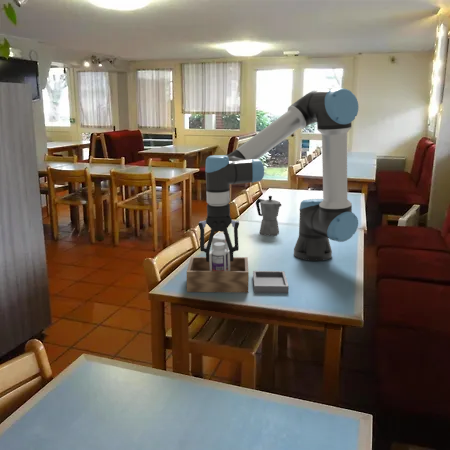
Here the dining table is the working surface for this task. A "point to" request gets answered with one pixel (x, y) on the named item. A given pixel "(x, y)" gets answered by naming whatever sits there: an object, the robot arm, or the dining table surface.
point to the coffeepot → (268, 216)
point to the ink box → (219, 240)
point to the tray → (270, 282)
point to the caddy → (217, 276)
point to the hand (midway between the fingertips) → (220, 270)
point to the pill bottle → (219, 257)
